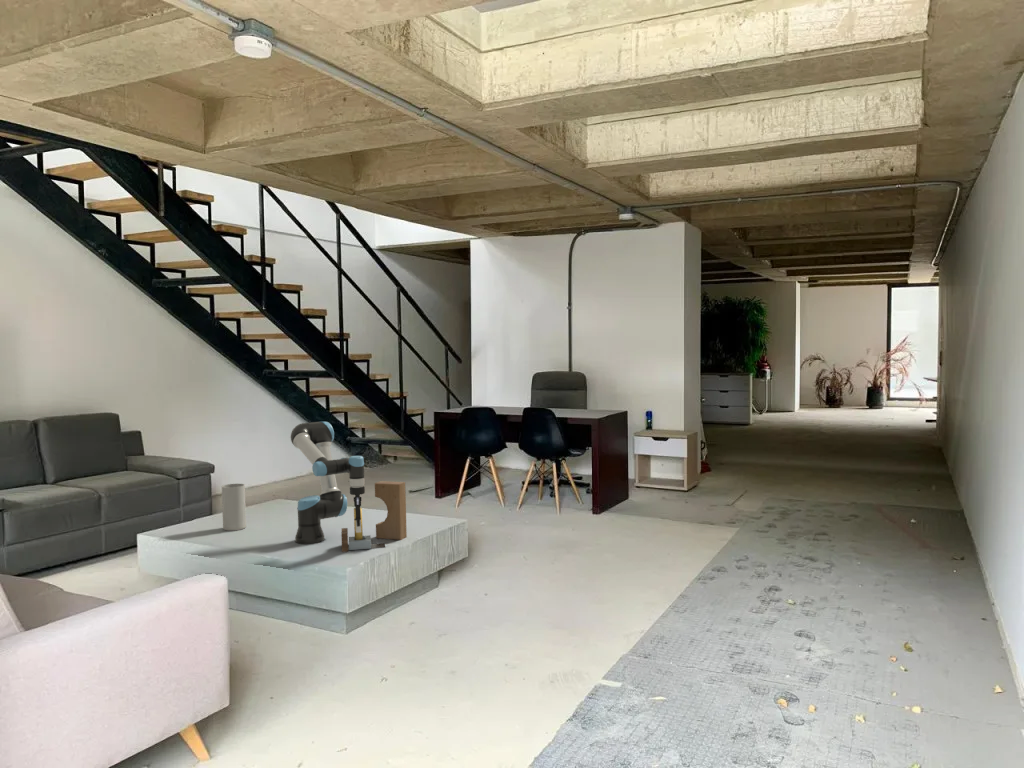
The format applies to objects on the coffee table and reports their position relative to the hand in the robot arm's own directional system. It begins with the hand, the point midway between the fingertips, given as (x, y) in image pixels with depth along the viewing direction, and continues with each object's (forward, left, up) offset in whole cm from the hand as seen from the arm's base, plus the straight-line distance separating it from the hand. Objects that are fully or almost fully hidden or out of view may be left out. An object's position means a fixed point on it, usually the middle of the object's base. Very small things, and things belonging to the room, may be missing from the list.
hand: (358, 531), depth 393 cm
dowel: (0, 0, -4) cm, 4 cm away
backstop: (0, -7, -8) cm, 11 cm away
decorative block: (-16, +17, -9) cm, 25 cm away
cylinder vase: (-63, -70, -9) cm, 94 cm away
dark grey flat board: (0, +4, -8) cm, 9 cm away
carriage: (0, +1, -8) cm, 8 cm away
